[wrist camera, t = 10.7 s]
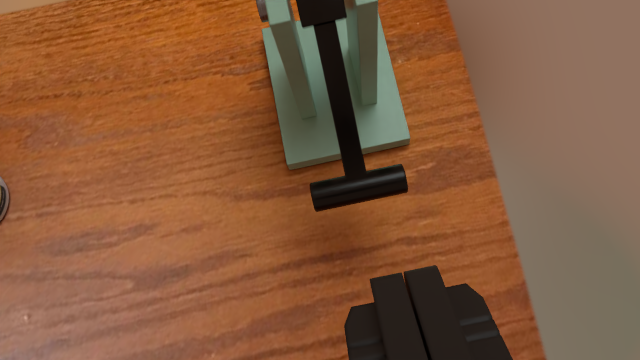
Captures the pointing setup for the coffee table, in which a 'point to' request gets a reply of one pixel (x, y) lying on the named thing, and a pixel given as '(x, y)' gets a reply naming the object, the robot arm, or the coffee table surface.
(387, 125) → the bracket
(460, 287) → the robot arm
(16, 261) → the coffee table surface
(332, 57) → the lever
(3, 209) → the supplement bottle
